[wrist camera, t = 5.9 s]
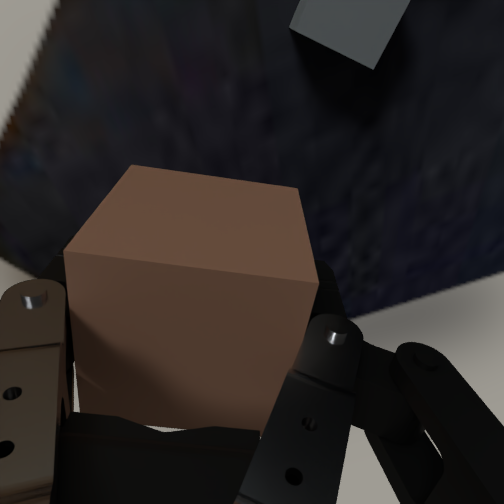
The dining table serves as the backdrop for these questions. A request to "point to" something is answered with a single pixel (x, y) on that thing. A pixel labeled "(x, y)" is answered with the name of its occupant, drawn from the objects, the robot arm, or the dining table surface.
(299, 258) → the terracotta cube
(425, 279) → the dining table surface
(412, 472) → the robot arm
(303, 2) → the blue-grey cube
